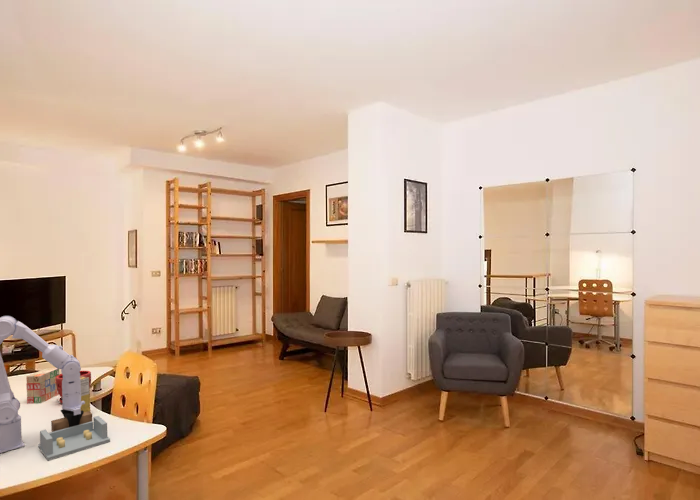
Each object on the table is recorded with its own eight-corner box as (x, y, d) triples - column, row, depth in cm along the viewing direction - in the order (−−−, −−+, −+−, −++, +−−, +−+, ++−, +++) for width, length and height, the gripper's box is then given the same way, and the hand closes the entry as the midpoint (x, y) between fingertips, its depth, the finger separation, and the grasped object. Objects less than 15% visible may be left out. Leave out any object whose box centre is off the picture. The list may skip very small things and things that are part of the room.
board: (54, 440, 153) (53, 423, 153) (51, 437, 155) (51, 420, 155) (92, 429, 161) (92, 413, 161) (89, 427, 164) (89, 411, 164)
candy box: (67, 413, 178) (66, 376, 177) (78, 410, 181) (77, 373, 181) (80, 417, 173) (78, 379, 173) (91, 414, 177) (89, 376, 177)
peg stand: (47, 460, 138) (47, 441, 138) (38, 447, 148) (37, 429, 148) (110, 441, 151) (109, 424, 151) (97, 430, 160) (97, 414, 160)
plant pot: (98, 395, 199) (97, 369, 199) (77, 406, 186) (76, 378, 186) (71, 395, 200) (70, 369, 200) (49, 405, 187) (48, 378, 187)
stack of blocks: (60, 388, 212) (59, 362, 212) (73, 387, 212) (72, 362, 212) (26, 403, 191) (25, 375, 191) (40, 403, 191) (39, 375, 191)
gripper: (89, 393, 156) (91, 431, 156) (78, 385, 166) (79, 420, 166) (67, 399, 151) (68, 438, 151) (56, 390, 161) (57, 426, 161)
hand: (72, 429), depth 158 cm, fingers closed on board, 4 cm apart
